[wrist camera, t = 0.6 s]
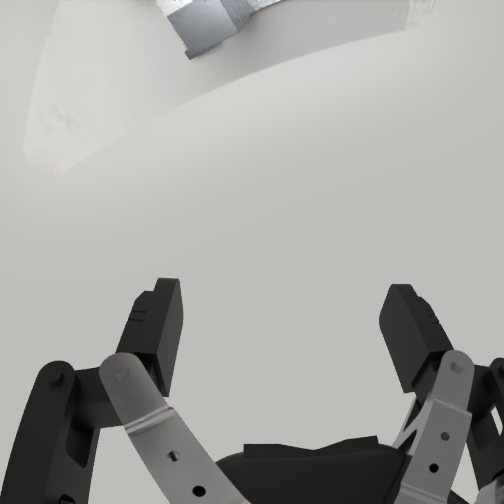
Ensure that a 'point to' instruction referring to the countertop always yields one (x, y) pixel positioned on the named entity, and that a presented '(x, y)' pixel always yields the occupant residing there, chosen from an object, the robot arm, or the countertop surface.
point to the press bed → (212, 20)
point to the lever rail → (170, 3)
